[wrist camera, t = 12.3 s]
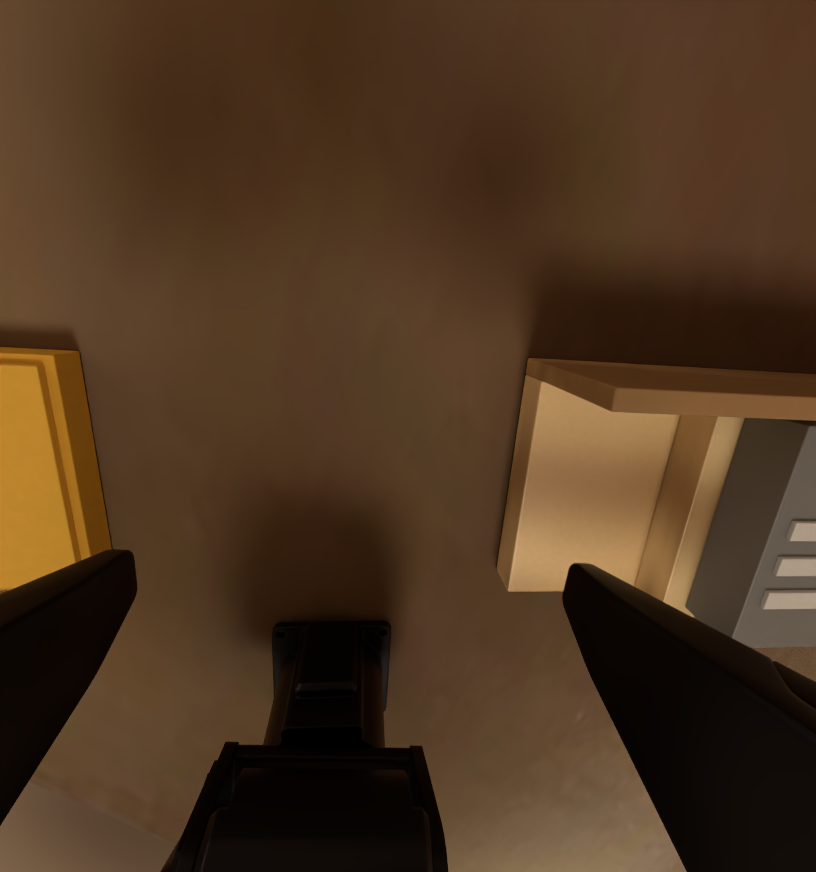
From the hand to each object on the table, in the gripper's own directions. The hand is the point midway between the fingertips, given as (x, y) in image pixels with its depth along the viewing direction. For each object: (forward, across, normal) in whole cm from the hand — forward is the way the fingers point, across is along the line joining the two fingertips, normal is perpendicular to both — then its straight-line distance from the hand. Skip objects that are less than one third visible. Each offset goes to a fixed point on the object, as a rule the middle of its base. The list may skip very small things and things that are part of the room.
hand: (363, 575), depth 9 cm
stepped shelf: (+12, -18, +2) cm, 22 cm away
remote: (+8, -18, +2) cm, 20 cm away
